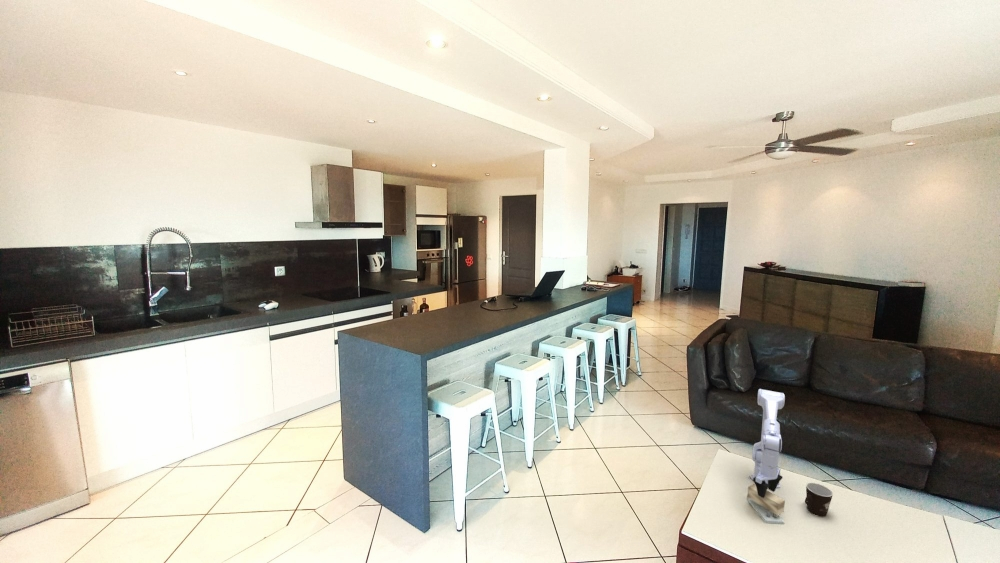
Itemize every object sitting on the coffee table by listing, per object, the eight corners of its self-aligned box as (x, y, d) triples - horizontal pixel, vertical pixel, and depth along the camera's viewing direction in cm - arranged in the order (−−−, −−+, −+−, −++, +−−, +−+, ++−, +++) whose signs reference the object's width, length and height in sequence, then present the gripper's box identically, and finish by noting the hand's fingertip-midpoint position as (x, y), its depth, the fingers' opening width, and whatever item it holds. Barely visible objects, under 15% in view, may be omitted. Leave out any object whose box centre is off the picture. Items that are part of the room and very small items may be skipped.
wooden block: (783, 511, 159) (784, 500, 158) (777, 515, 157) (779, 504, 156) (753, 493, 169) (754, 483, 168) (747, 497, 167) (748, 486, 166)
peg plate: (746, 498, 170) (747, 492, 170) (763, 499, 170) (764, 493, 169) (765, 522, 157) (766, 516, 156) (783, 524, 156) (784, 517, 156)
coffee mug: (820, 504, 167) (823, 483, 165) (835, 519, 158) (838, 497, 157) (791, 502, 168) (793, 481, 166) (804, 517, 159) (807, 495, 158)
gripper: (768, 453, 167) (765, 482, 169) (749, 463, 160) (746, 493, 162) (787, 462, 161) (783, 491, 163) (767, 472, 154) (764, 503, 156)
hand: (766, 493), depth 162 cm, fingers open, 7 cm apart
